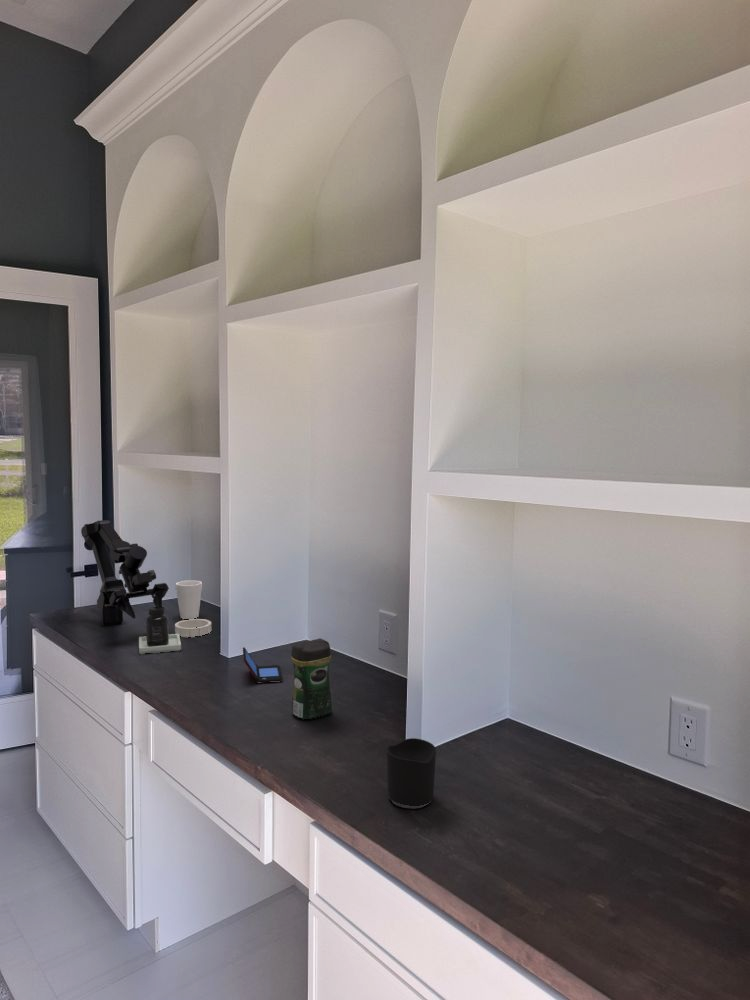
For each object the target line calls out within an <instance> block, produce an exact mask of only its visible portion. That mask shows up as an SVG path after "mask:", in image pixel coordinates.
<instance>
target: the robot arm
mask: <svg viewBox="0 0 750 1000" xmlns="http://www.w3.org/2000/svg"><path fill="white" fill-rule="evenodd" d="M80 532H81V533H80V534H81V537H83V539H84V542H85V544H87V545H88V546H89V547H90V548H91V550H92V552H93V556H94V559H95V563H96V566H97V569H98V573H99V577H100V580H101V583H102V584H101V586H100V589H99V596H98V598H97V600H96V606H97V608H99V609H101V611H102V612H101V613H102V614H101V615H102V624H101V625H102V626H116V625H122V623H123V621H124V612H125V613H126V614H127V615H128V616H129V617H131V618H132V619H133V620H134V619H136V614H135V611H134V609H133V607H132V604H131V601H130V599H133V598H135V599H136V598H140V597H148V596H151V598H152V599H153V600H152V602H153V604H154V607H163V598H164V597H165V596H166V594H167V593H168V591H169V589H170V588H169V586H168V584H167V583H165V582H161V583H155V584H154V585H153V588H149V586H150V583H152V582H153V581H155V580H156V579H157V575H156V572H155V570H154V569H152V570H151V569H150V570H148V571H147V572H141V571H140V568H141V567H142V565H143V564H144V562H145V560H146V557H147V556H148V551H147V550H146V549H145V548H144V547H143V546H141V545H138V543H136V542H135V543H130V542H128V541H125V540H123V539H122V537H121V536H120V534H119V533H118V532H117V531H116V529H115V528H114V527H113V526H112V522H111V520H108V519H104V520H103V519H102V520H96V521H94V522H92V523H86V524H84V525H83V526H81V530H80ZM107 546H108V547H107ZM108 548H109V549H110V553H109V552H108ZM112 562H113V563H114V564H120V566H119V570H118V574H119V575H121V576H122V578H123V580H122V579H118V578H117V577H116V574H115V571H114V566H113V564H112ZM123 581H124V582H123ZM126 588H127V590H126ZM148 588H149V589H148ZM127 591H128V592H127Z"/></svg>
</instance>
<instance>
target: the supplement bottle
mask: <svg viewBox="0 0 750 1000" xmlns="http://www.w3.org/2000/svg"><path fill="white" fill-rule="evenodd" d="M165 613H166V611H165V607H164V606H162V607H156V606H153V607H149V608H148V615H149V616H148V617H146V620H145V629H146V632H145V633H146V635H145V636H146V638H147V646H149V647H153V646H164V645H168V643H169V633H170V632H169V617H168V616H167V615H165Z"/></svg>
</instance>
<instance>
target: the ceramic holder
mask: <svg viewBox="0 0 750 1000" xmlns="http://www.w3.org/2000/svg"><path fill="white" fill-rule="evenodd" d="M196 627H197V628H196ZM211 631H212V621H211V620H209V619H205V618H204V619H202V618H196V619H189V620H184V619H182V620H180V621H178V622H176V623H175V624H174V632H175V633H174V634H179V636H181V637H180V638H188V637H191V638H196V637H195V636H201V637H203V636H202V635H205V634H208V633H209V634H211V633H212V632H211ZM210 632H211V633H210ZM209 634H208V635H209ZM205 636H206V635H205Z"/></svg>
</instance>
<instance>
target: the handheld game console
mask: <svg viewBox="0 0 750 1000" xmlns="http://www.w3.org/2000/svg"><path fill="white" fill-rule="evenodd" d="M242 657H243V658H242V659H243V662H244V664H245V665H246V667H247V668H248V670H249V672H250V673H251V675H252V676H253V678H254V679H256V680H255V683H256V682H270V681H281V680H282V681H283V674H282V670H281V665H279V664H278V665H277V664H275V665H274V664H273V665H258V664H256V662H255V661H254V660H253V658H252V657H251V655H250V653H249V652H248V650H247V649H246V647H245V646H244V647H242Z"/></svg>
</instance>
